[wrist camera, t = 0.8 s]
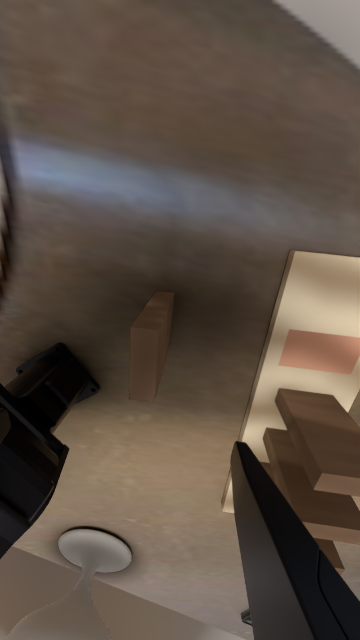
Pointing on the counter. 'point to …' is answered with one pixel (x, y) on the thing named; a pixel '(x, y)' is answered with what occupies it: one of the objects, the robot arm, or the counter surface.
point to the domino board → (306, 344)
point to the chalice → (77, 591)
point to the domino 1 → (150, 346)
